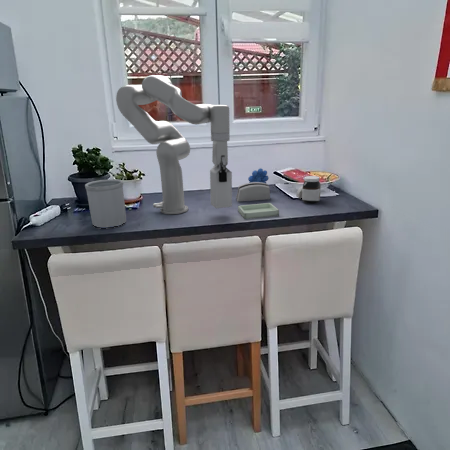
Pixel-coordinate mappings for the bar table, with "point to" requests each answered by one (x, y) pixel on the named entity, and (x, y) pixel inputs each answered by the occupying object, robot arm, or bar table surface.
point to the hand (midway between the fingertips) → (220, 179)
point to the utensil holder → (106, 202)
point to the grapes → (258, 176)
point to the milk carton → (220, 189)
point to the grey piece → (253, 191)
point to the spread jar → (310, 190)
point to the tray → (258, 210)
